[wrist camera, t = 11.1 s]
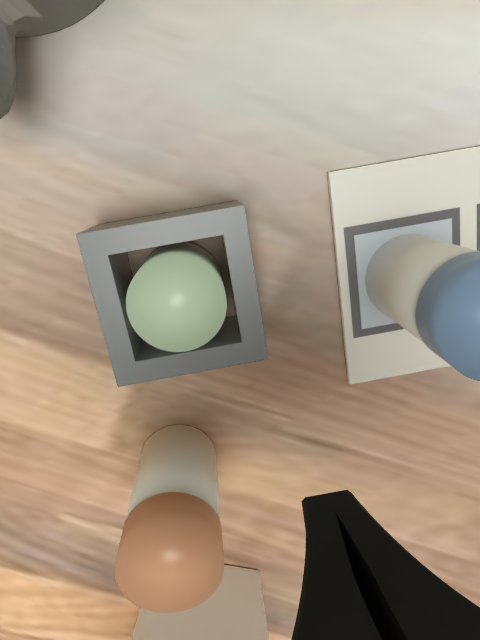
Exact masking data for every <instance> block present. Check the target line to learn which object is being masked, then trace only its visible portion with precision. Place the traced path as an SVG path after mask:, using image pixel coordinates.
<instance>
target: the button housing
mask: <svg viewBox="0 0 480 640" xmlns="http://www.w3.org/2000/svg"><path fill="white" fill-rule="evenodd" d="M220 235H222V240H223V246H224V251H225V257H226V263H227V268H228V274H229V280H230V286H231V291H232V297H233V303H234V308H235V314H236V316H234V317H228V318H225V319H224V322H223V324H222V326H221V328H220V330H219V331H218V333H217V334H216V335H215V336H214V337H213V338H212V339H211V340H210V341H209V342H207V343H206V344H204V345H203V346H201V347H199V348H196V349H194V350H190V351H185V352H169V351H165V350H161V349H158V348H156V347H154V346H152V345H150V344H148V343H147V342H146V341H144V340H143V339H142V338H141V337H140V336H139V335H138V334H137V333H136V332H135V330H134V329H133V327H132V325H131V323H130V321H129V318H128V315H127V311H126V295H127V291H128V287H129V285H130V283H131V281H132V279H133V277H132V273H131V268H130V264H129V260H128V256H127V252H129V251H134V250H140V249H146V248H152V247H157V246H163V245H169V244H174V243H180V242H186V241H191V240H197V239H203V238H208V237H214V236H220ZM76 236H77V240H78V244H79V247H80V251H81V255H82V258H83V262H84V265H85V269H86V273H87V276H88V280H89V284H90V287H91V291H92V295H93V298H94V302H95V305H96V309H97V313H98V316H99V320H100V324H101V327H102V331H103V335H104V338H105V342H106V345H107V349H108V353H109V356H110V360H111V364H112V367H113V371H114V375H115V378H116V382H117V385H118V387H120V386H125V385H131V384H136V383H141V382H147V381H152V380H158V379H163V378H169V377H174V376H180V375H185V374H191V373H196V372H201V371H207V370H212V369H218V368H223V367H229V366H234V365H240V364H245V363H251V362H256V361H261V360H267V359H268V355H267V349H266V342H265V336H264V330H263V323H262V317H261V310H260V304H259V298H258V291H257V285H256V279H255V272H254V266H253V259H252V253H251V247H250V240H249V234H248V227H247V221H246V215H245V208H244V205H243V204H242V203H240V202H239V201H237V200H236V201H231V202H225V203H219V204H213V205H208V206H202V207H196V208H190V209H185V210H179V211H173V212H167V213H162V214H156V215H150V216H144V217H139V218H133V219H127V220H122V221H116V222H110V223H104V224H99V225H96V226H94V227H92V228H89V229H87V230H85V231H83V232H80V233H78V234H76Z"/></svg>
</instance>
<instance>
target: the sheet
mask: <svg viewBox="0 0 480 640" xmlns="http://www.w3.org/2000/svg"><path fill="white" fill-rule="evenodd" d="M327 175H328V186H329V196H330V206H331V216H332V226H333V236H334V247H335V257H336V267H337V277H338V287H339V297H340V308H341V318H342V328H343V338H344V348H345V358H346V369H347V379H348V383H349V384H350V385H351V384H356V383H361V382H367V381H372V380H377V379H383V378H388V377H394V376H399V375H404V374H410V373H415V372H421V371H426V370H431V369H437V368H442V367H447V366H451V365H450V364H448V363H447V362H446V361H444V360H443V359H442V358H440V357H439V356H438V355H436V354H435V353H434V352H433V351H431V350H430V349H429V348H428V347H427V346H426V345H425V344H424V343H423V342H422V341H420V340H419V339H418V338H416V337H415V336H414V335H412V334H411V333H410V332H408V331H407V330H406V329H404V328H403V327H402V326H400V325H399V324H398V323H396V322H395V321H394V320H392V319H391V318H390V317H388V316H387V315H386V314H384V313H383V312H382V311H380V310H379V309H378V308H377V307H375V306H374V304H373V303H372V302H371V300H370V298H369V297H368V294H367V291H366V286H365V275H366V270H367V267H368V264H369V262H370V260H371V258H372V256H373V255H374V254H375V252H376V251H377V250H378V249H379V248H380V247H381V246H382V245H383V244H385V243H386V242H388V241H389V240H391V239H393V238H395V237H398V236H401V235H408V234H414V235H420V236H425V237H428V238H432V239H436V240H440V241H443V242H447V243H451V244H455V245H458V246H462V247H466V248H470V249H473V250H477V251H480V146H476V147H471V148H465V149H459V150H453V151H448V152H442V153H436V154H430V155H425V156H419V157H413V158H407V159H402V160H396V161H390V162H384V163H379V164H373V165H367V166H361V167H355V168H350V169H344V170H338V171H332V172H327Z"/></svg>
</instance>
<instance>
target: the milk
mask: <svg viewBox="0 0 480 640" xmlns="http://www.w3.org/2000/svg"><path fill="white" fill-rule="evenodd" d="M132 640H269V636H268V629H267V622H266V615H265V608H264V601H263V594H262V587H261V580H260V573H259V571H258V570H253V569H247V568H241V567H235V566H229V565H224V573H223V578H222V580H221V583H220V585H219V587H218V588H217V590H216V591H215V592H214V593H213V594H212V595H211V596H210V597H209V598H208V599H207V600H206V601H204V602H203V603H201V604H199V605H198V606H196V607H193V608H191V609H188V610H185V611H180V612H173V613H161V612H154V611H150V610H146V609H144V608H141V607H140V610H139V614H138V617H137V620H136V624H135V627H134V631H133V635H132Z"/></svg>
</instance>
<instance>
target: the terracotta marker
mask: <svg viewBox="0 0 480 640" xmlns="http://www.w3.org/2000/svg"><path fill="white" fill-rule="evenodd" d="M223 573H224V558H223V542H222V527H221V522H220V513H219V496H218V479H217V462H216V451H215V447H214V445H213V443H212V441H211V440H210V439H209V437H208V436H207V435H206V434H204V433H203V432H202V431H200V430H198V429H196V428H194V427H191V426H186V425H172V426H167V427H164V428H162V429H160V430H158V431H156V432H155V433H153V434H152V435H151V436H150V437H149V438H148V439H147V441H146V442H145V444H144V446H143V448H142V451H141V456H140V460H139V465H138V469H137V474H136V478H135V483H134V487H133V492H132V497H131V501H130V506H129V510H128V515H127V519H126V521H125V523H124V527H123V531H122V536H121V540H120V545H119V549H118V554H117V558H116V562H115V579H116V582H117V585H118V587H119V589H120V591H121V592H122V593H123V595H124V596H125V597H126V598H127V599H128V600H130V601H131V602H132V603H134V604H135V605H137V606H139V607H141V608H144V609H146V610H150V611H154V612H161V613H173V612H180V611H185V610H188V609H191V608H193V607H196V606H198V605H199V604H201V603H203V602H204V601H206V600H207V599H208V598H209V597H210V596H211V595H212V594H213V593H214V592H215V591H216V590H217V588H218V587H219V585H220V583H221V580H222V578H223Z"/></svg>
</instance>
